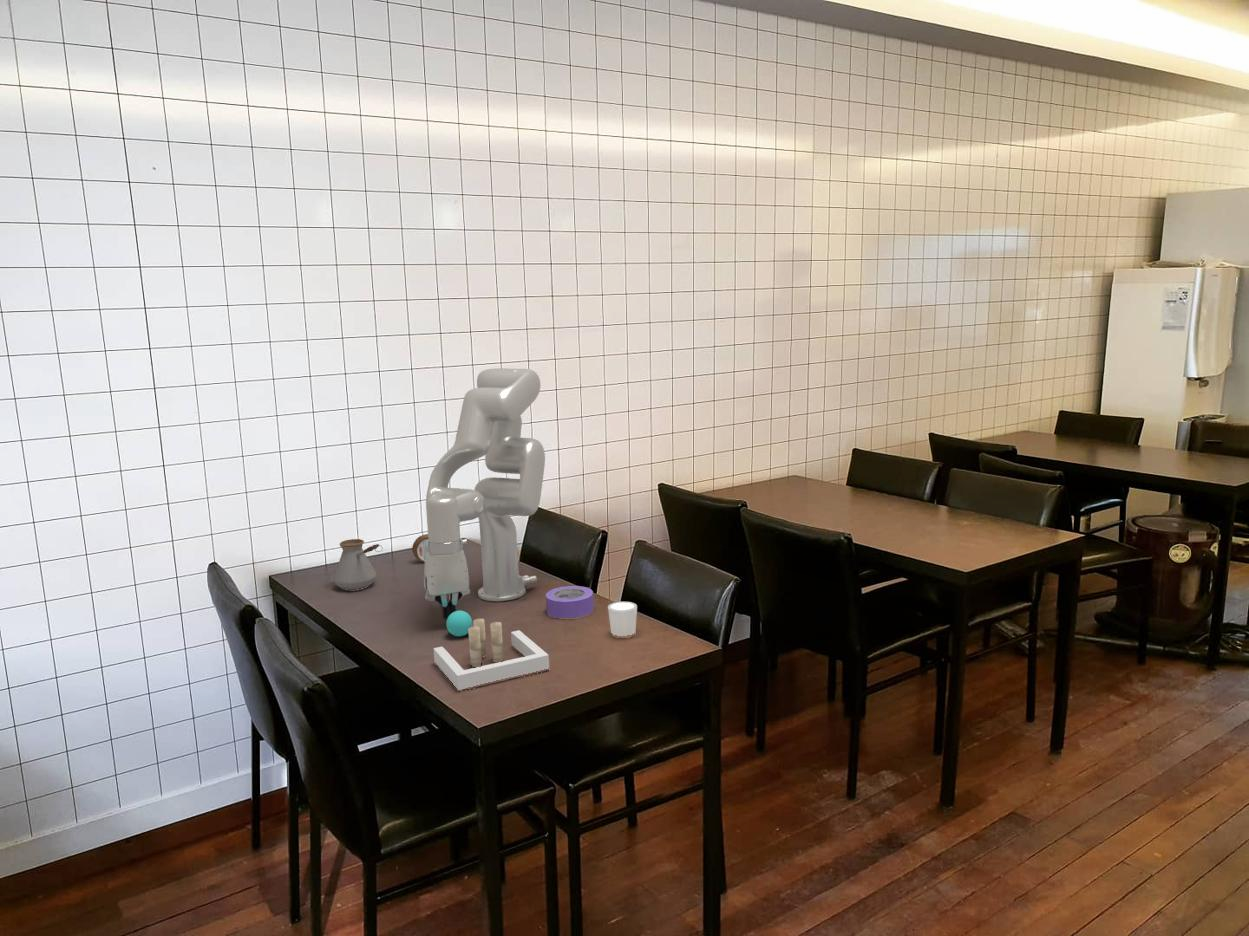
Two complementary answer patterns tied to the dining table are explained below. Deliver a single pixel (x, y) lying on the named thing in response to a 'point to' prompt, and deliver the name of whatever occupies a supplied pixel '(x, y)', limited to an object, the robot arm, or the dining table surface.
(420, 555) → the tin
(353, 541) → the coffee pot
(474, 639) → the pin
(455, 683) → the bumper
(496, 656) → the pin
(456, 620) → the ball
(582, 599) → the tape roll
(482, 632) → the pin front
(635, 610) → the white cup
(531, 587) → the dining table surface
